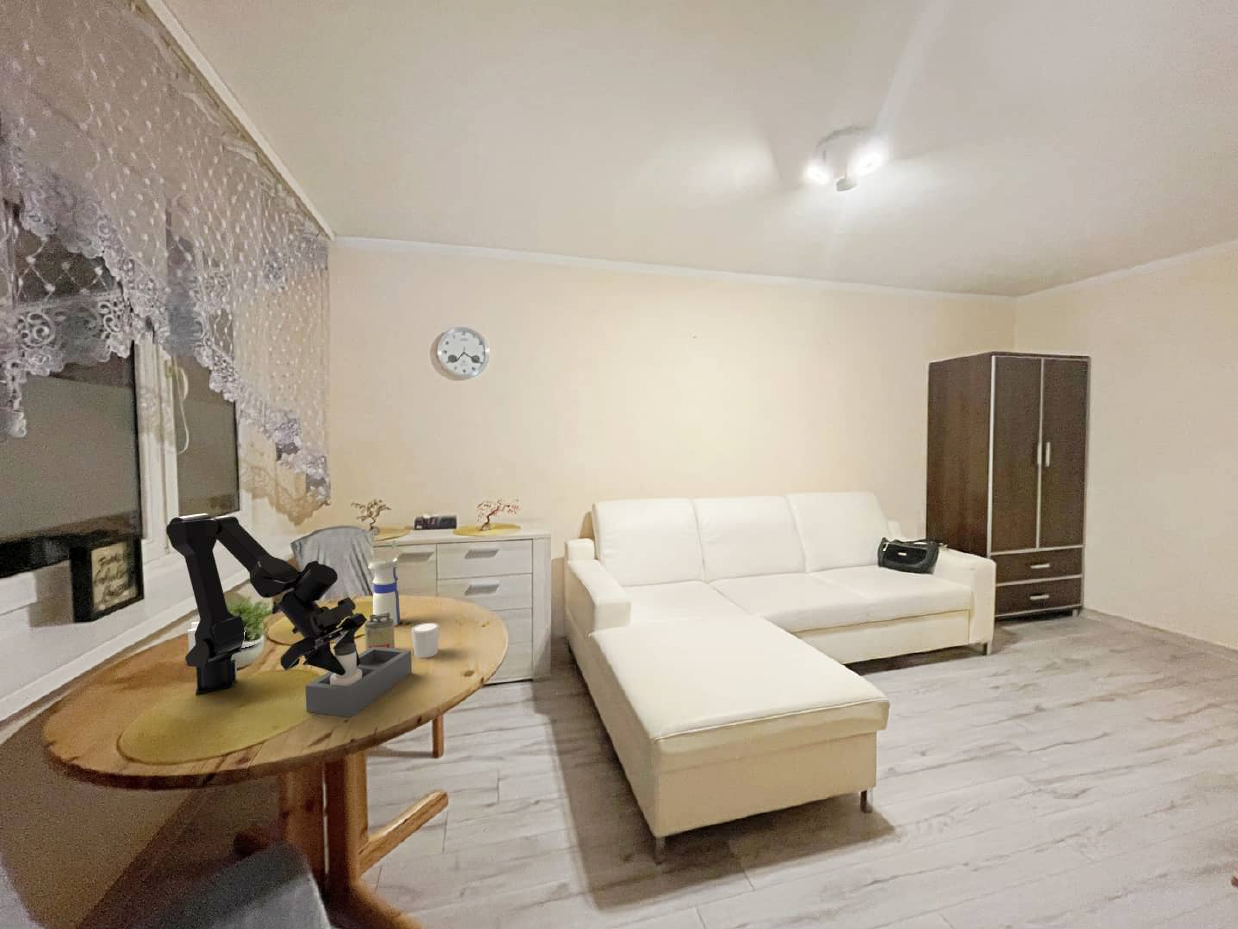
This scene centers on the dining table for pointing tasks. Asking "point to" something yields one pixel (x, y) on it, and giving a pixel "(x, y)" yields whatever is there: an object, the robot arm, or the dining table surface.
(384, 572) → the white spray bottle
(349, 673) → the plug
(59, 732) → the dining table surface
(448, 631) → the dining table surface
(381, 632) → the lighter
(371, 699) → the compartment tray
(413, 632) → the shot glass
